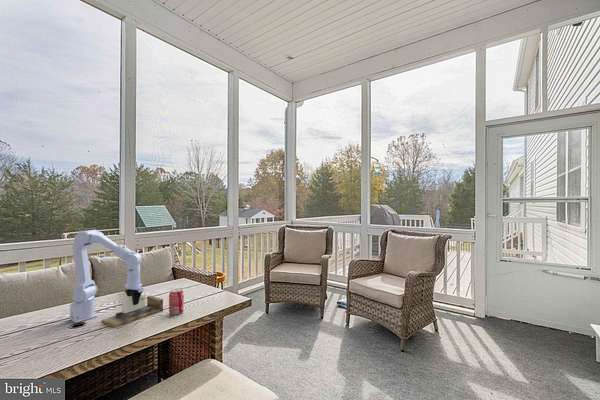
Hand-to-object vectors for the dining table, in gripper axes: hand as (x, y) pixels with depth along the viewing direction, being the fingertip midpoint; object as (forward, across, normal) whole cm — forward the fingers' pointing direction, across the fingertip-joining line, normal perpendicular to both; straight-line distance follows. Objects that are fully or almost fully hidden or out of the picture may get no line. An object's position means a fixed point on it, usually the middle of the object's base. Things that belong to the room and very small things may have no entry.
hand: (133, 303), depth 142 cm
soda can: (+6, -15, -14) cm, 22 cm away
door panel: (+3, 0, 0) cm, 3 cm away
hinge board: (+6, 0, 0) cm, 6 cm away
